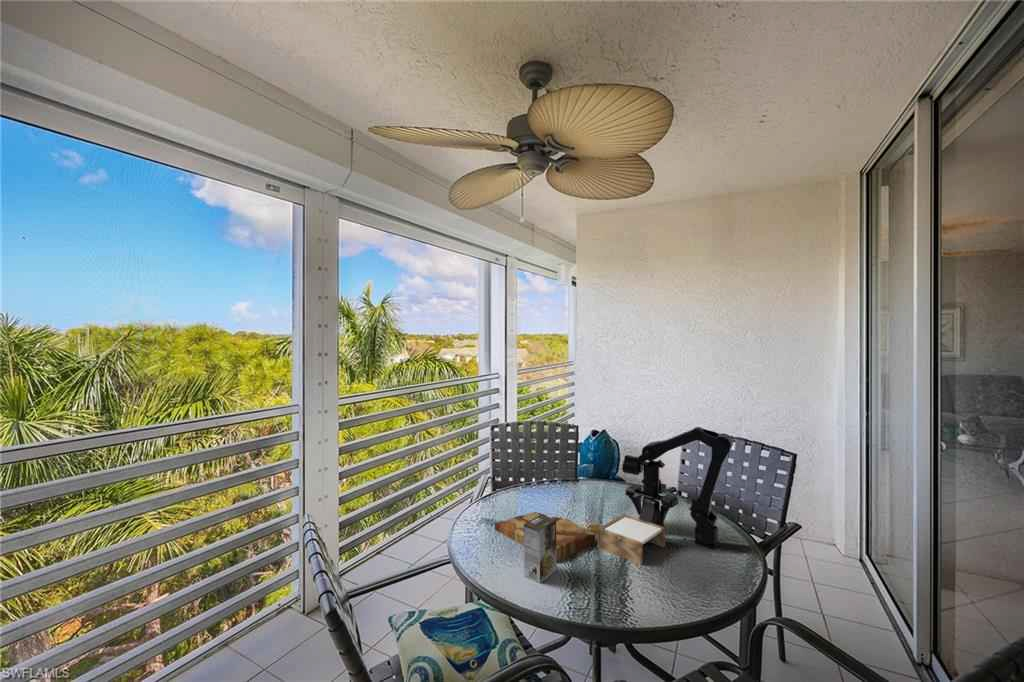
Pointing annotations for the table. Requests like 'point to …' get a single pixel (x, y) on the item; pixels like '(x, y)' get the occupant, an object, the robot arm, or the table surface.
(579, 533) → the decorative slab
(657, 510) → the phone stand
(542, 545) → the coffee box
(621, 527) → the trapdoor
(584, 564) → the table surface
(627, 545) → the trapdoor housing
